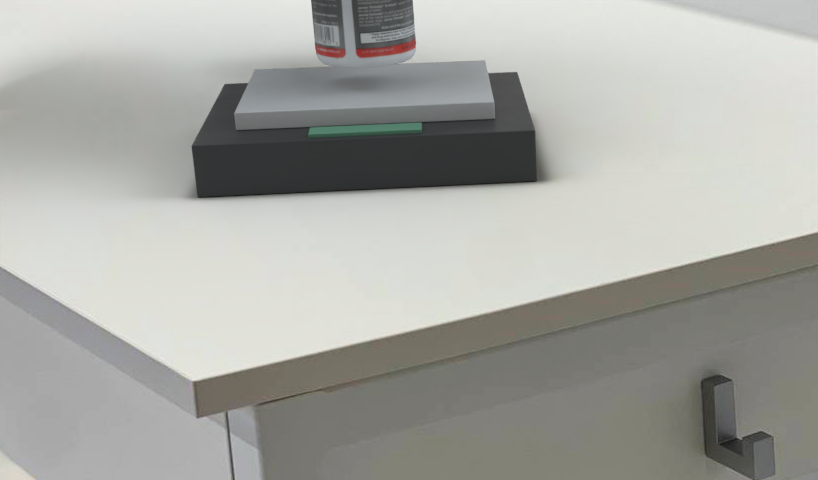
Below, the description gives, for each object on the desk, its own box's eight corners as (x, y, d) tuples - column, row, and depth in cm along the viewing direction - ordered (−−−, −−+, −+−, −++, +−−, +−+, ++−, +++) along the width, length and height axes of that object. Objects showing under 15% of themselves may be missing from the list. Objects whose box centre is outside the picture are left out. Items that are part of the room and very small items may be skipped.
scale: (197, 197, 86) (189, 126, 84) (229, 128, 100) (222, 67, 99) (537, 181, 87) (534, 111, 86) (519, 115, 102) (516, 55, 101)
